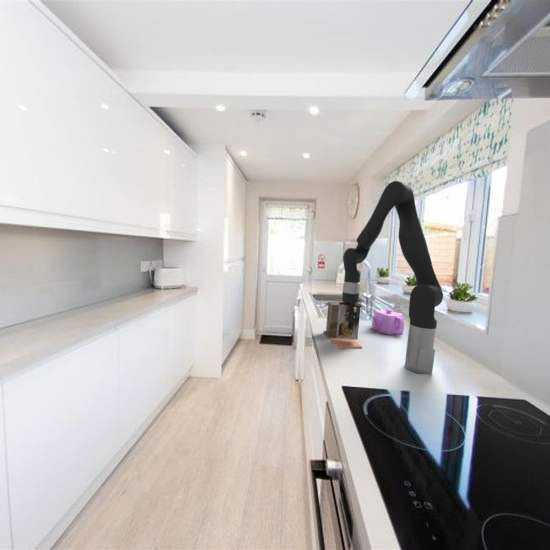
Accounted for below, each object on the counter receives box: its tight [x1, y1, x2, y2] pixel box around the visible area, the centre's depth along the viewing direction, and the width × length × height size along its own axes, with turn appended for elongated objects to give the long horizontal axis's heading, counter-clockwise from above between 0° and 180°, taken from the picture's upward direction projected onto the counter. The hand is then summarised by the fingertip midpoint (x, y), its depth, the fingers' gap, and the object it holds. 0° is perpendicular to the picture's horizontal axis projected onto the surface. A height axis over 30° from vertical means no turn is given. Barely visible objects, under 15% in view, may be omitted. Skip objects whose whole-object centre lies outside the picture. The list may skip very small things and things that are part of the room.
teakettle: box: [371, 308, 405, 336], centre depth 168 cm, size 17×17×12 cm
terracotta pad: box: [330, 338, 363, 349], centre depth 141 cm, size 11×11×1 cm
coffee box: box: [337, 301, 361, 341], centre depth 140 cm, size 9×6×16 cm
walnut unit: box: [323, 301, 340, 339], centre depth 153 cm, size 8×14×16 cm, turn 97°
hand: (347, 326), depth 140 cm, fingers closed on coffee box, 7 cm apart
